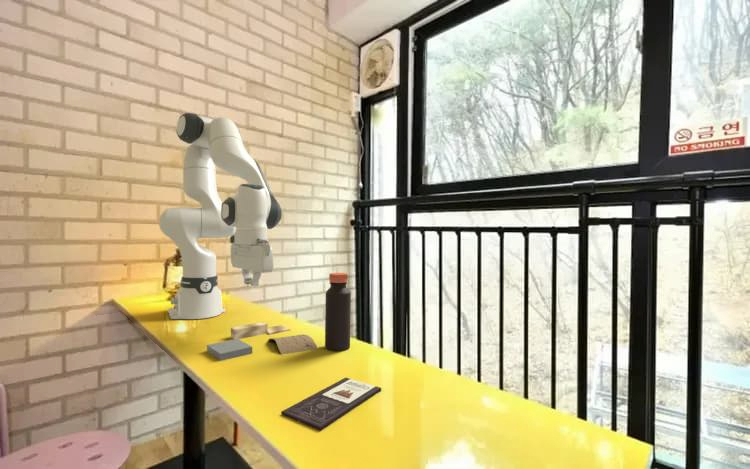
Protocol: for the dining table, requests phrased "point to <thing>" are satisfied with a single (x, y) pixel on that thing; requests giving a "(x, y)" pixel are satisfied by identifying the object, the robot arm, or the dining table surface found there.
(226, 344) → the grey framed square panel
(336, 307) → the bottle
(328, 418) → the chocolate bar
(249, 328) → the stepped wooden block
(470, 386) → the dining table surface
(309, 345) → the curved brown bark piece
